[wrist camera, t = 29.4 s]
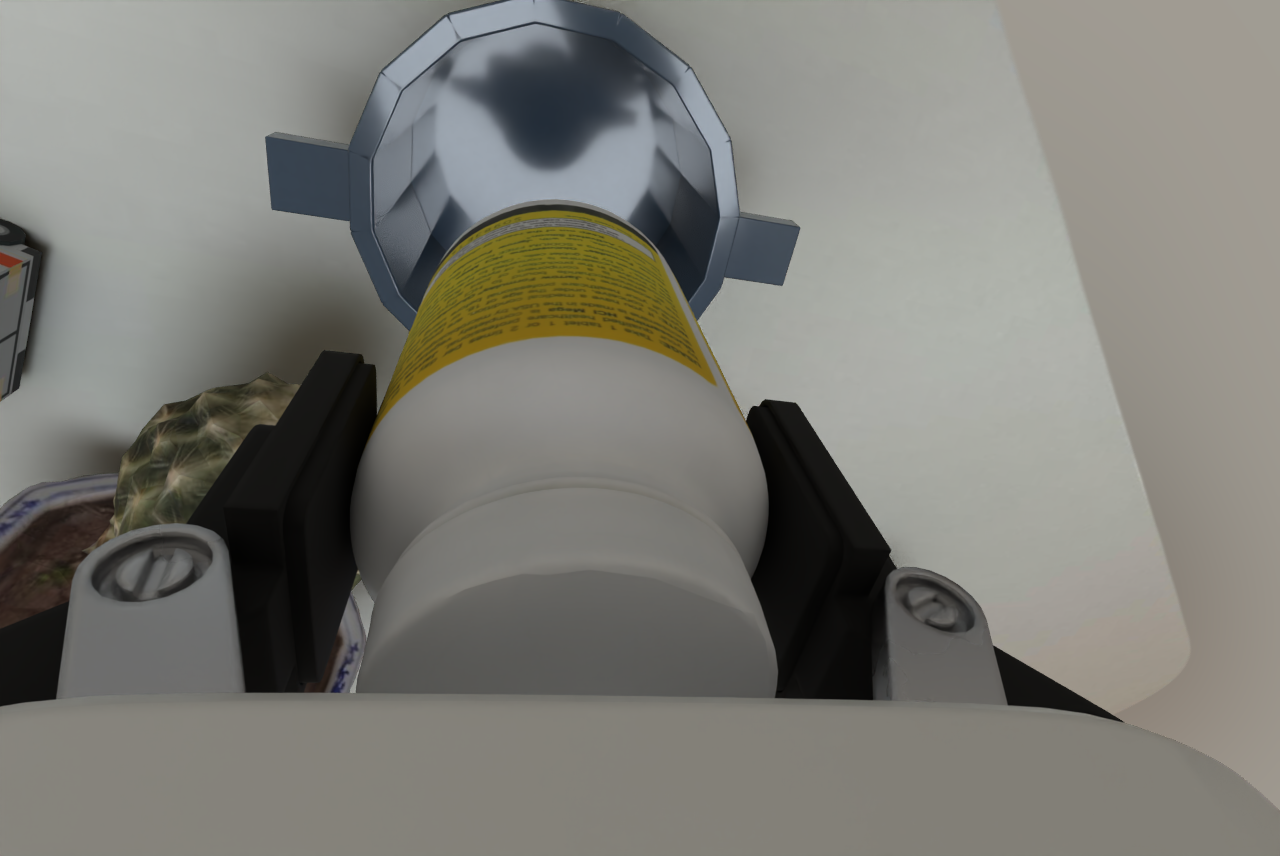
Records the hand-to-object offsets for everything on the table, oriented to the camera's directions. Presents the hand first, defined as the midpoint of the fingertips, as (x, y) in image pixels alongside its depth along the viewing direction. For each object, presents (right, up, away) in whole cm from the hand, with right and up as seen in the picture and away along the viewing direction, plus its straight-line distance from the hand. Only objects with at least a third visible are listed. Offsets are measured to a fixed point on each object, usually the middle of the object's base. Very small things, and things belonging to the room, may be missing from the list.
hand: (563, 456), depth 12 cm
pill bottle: (-1, +3, +5) cm, 6 cm away
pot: (-3, +12, +19) cm, 23 cm away
